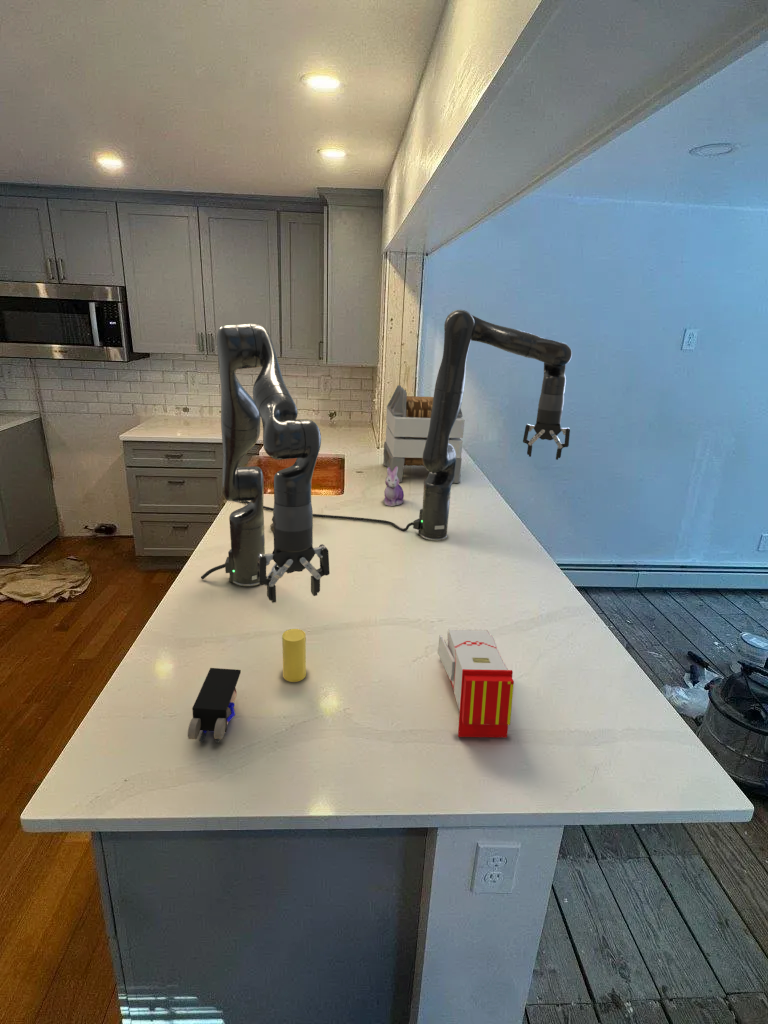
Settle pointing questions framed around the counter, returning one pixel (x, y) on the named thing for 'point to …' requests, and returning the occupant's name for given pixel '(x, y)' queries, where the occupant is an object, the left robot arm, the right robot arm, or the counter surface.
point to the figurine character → (214, 704)
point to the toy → (478, 682)
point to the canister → (294, 655)
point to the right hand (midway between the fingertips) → (543, 457)
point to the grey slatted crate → (414, 432)
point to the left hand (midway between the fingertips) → (294, 597)
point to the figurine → (393, 488)
